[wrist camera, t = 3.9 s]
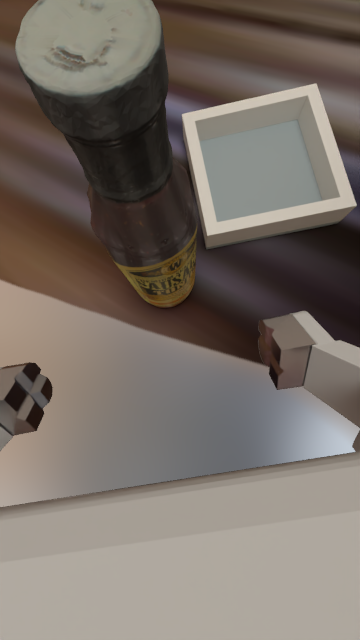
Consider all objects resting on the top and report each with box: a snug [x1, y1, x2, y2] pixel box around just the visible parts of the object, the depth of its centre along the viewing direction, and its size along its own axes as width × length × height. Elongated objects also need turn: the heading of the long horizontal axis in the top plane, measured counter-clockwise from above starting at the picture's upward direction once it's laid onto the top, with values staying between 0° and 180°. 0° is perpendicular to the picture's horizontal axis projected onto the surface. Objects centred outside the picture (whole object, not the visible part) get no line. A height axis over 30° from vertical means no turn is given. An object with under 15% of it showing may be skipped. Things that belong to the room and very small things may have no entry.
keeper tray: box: [182, 84, 357, 249], centre depth 25 cm, size 14×14×3 cm
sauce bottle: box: [15, 0, 197, 308], centre depth 16 cm, size 7×6×20 cm
